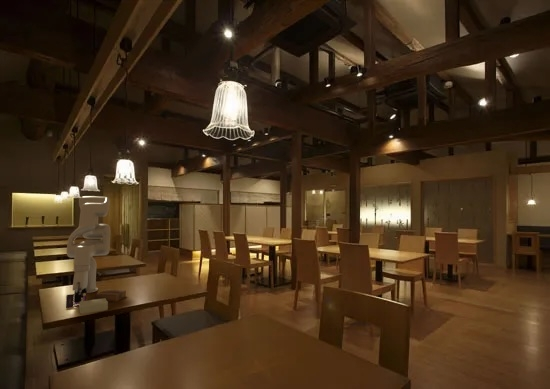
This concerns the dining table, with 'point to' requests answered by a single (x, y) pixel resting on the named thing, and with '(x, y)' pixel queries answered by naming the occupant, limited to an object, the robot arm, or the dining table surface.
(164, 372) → the dining table surface
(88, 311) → the sage block
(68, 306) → the purple printed box
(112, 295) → the walnut block
